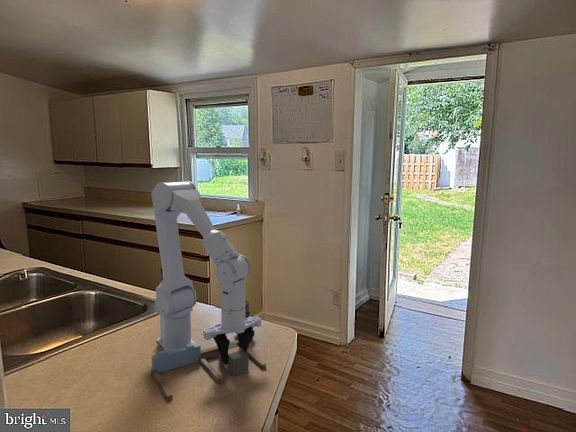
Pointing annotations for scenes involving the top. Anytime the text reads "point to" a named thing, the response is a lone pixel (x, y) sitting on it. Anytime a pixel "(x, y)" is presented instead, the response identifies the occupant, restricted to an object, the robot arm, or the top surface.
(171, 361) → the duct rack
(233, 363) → the grey and tan block
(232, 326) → the robot arm
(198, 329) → the top surface
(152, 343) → the top surface
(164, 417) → the top surface
